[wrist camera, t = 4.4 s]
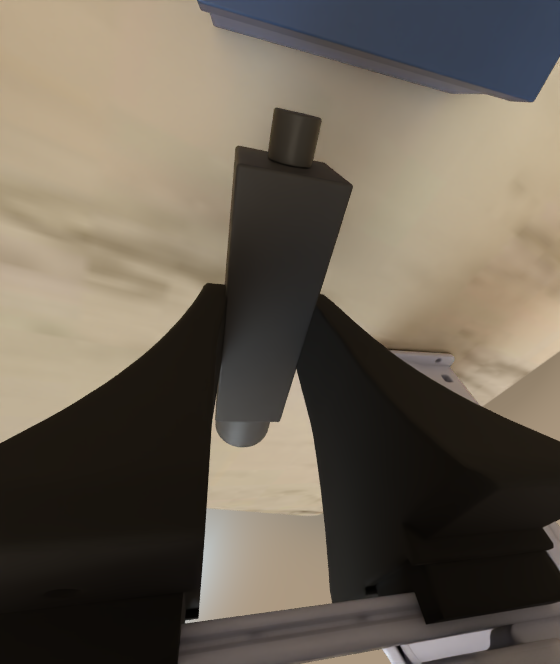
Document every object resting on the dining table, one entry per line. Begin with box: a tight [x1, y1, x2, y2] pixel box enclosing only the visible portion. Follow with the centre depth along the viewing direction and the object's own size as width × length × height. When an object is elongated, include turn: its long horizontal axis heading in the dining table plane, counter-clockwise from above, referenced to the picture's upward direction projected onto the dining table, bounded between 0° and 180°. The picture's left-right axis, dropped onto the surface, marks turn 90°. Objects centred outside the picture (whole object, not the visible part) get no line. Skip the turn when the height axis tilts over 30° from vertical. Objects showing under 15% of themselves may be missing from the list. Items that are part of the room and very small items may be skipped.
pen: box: [215, 108, 353, 447], centre depth 10 cm, size 12×3×3 cm, turn 170°
